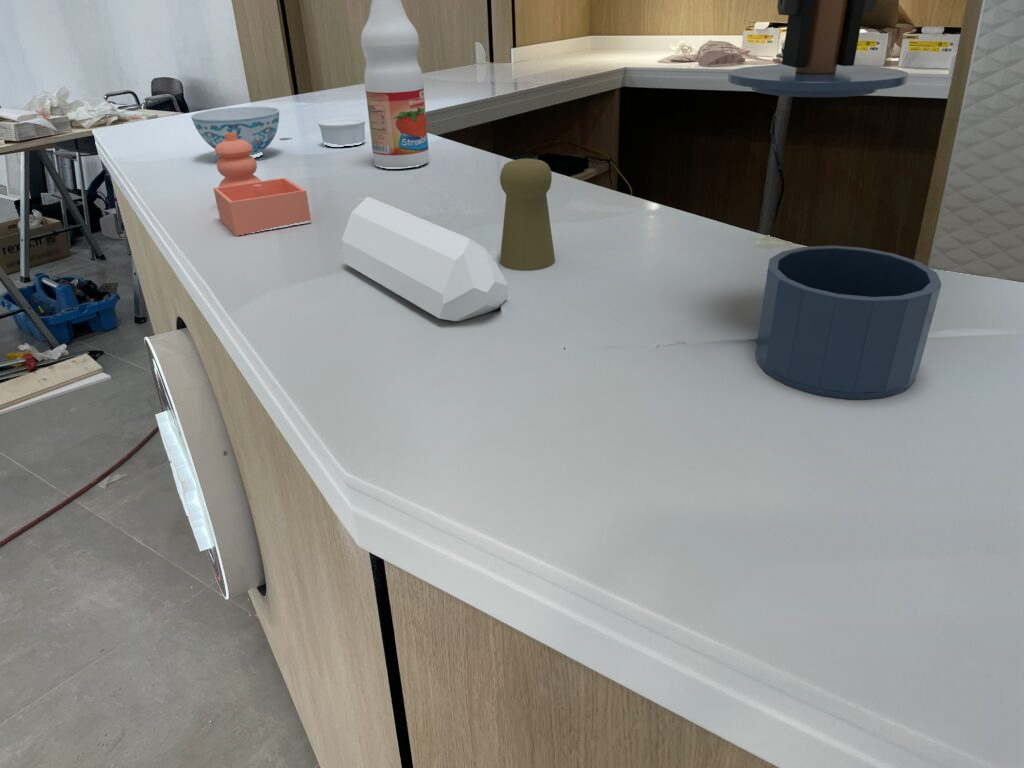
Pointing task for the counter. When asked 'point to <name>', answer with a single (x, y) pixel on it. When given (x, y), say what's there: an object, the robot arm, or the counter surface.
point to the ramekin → (343, 130)
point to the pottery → (254, 192)
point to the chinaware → (239, 125)
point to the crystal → (423, 262)
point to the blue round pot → (845, 320)
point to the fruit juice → (394, 87)
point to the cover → (820, 65)
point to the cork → (526, 216)
